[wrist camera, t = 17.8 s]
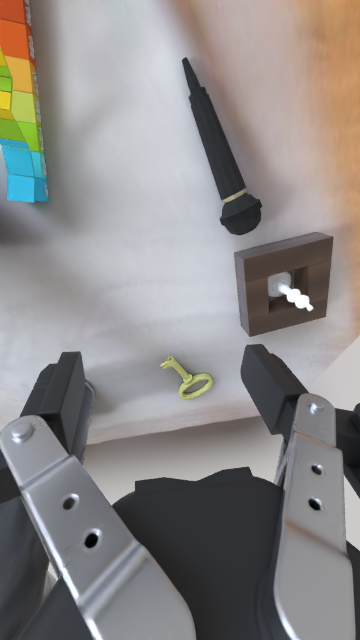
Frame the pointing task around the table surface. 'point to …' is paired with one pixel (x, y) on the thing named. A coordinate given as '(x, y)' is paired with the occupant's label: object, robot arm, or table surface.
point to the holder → (263, 261)
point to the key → (188, 379)
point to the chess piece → (287, 290)
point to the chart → (20, 106)
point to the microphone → (222, 162)
